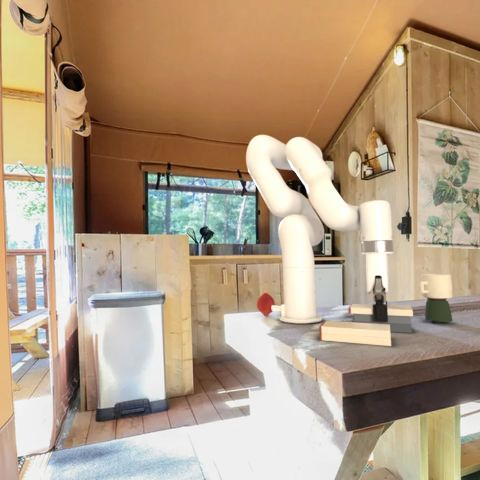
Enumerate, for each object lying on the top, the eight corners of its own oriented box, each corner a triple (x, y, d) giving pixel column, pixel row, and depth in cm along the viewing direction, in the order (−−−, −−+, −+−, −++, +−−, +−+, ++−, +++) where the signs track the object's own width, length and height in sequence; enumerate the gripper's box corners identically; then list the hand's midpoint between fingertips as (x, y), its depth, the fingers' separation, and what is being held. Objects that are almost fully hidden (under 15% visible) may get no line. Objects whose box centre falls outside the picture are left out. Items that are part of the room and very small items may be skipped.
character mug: (441, 318, 88) (438, 273, 89) (466, 323, 81) (462, 274, 82) (411, 321, 85) (408, 274, 86) (434, 326, 78) (431, 275, 79)
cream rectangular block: (319, 340, 67) (318, 326, 68) (325, 333, 74) (324, 320, 74) (391, 346, 61) (390, 331, 62) (390, 338, 68) (389, 324, 68)
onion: (275, 314, 101) (274, 290, 102) (275, 317, 96) (274, 291, 96) (257, 314, 102) (256, 290, 103) (257, 317, 96) (256, 292, 97)
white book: (348, 313, 77) (348, 307, 77) (351, 309, 84) (351, 303, 84) (413, 316, 71) (412, 310, 71) (410, 311, 78) (410, 305, 78)
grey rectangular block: (351, 329, 78) (351, 313, 78) (353, 324, 83) (353, 309, 83) (411, 333, 72) (410, 315, 72) (409, 328, 77) (408, 312, 77)
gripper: (363, 250, 88) (366, 312, 87) (358, 248, 72) (362, 324, 71) (392, 249, 85) (396, 314, 84) (394, 247, 69) (399, 326, 68)
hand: (380, 318), depth 77 cm, fingers closed on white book, 7 cm apart
